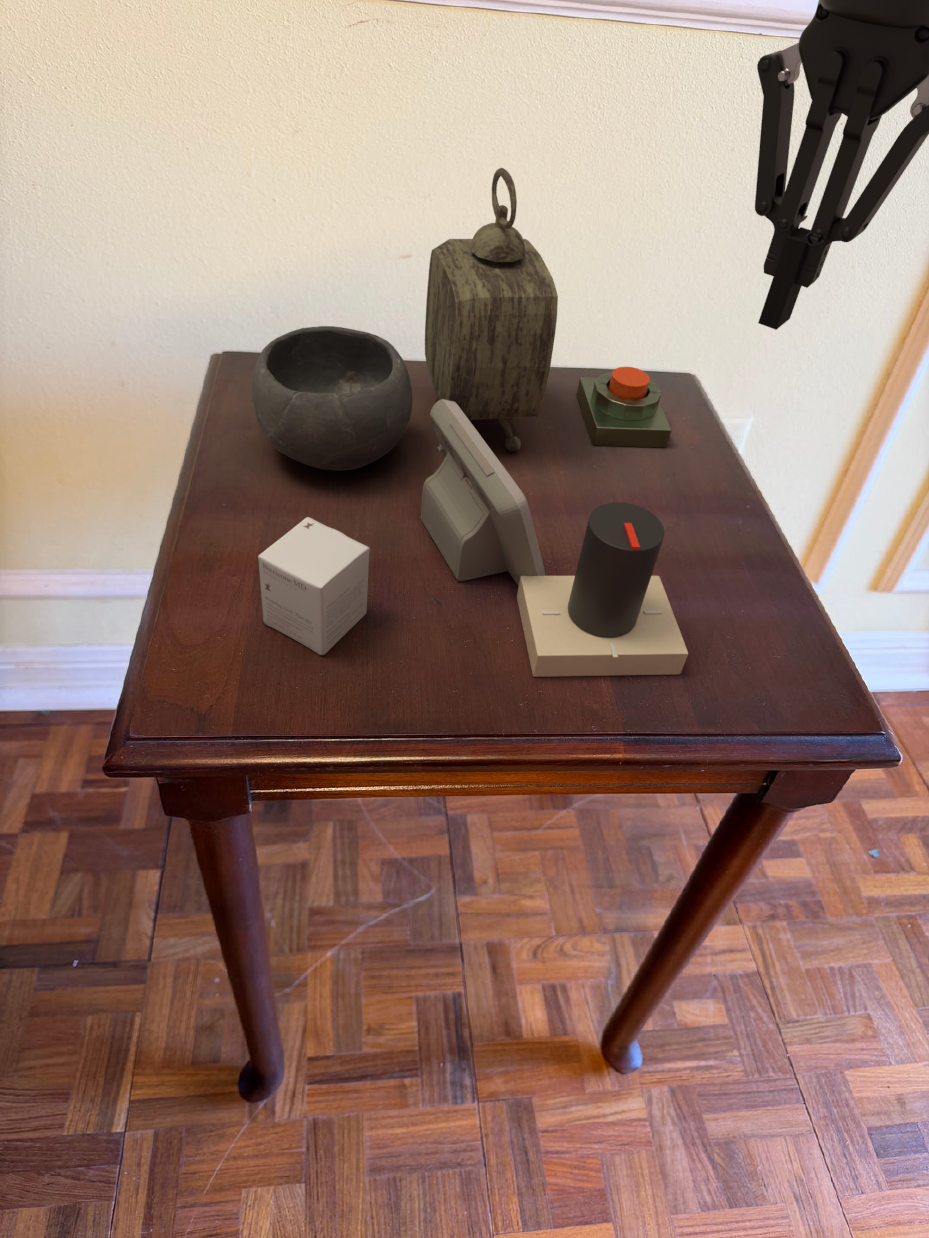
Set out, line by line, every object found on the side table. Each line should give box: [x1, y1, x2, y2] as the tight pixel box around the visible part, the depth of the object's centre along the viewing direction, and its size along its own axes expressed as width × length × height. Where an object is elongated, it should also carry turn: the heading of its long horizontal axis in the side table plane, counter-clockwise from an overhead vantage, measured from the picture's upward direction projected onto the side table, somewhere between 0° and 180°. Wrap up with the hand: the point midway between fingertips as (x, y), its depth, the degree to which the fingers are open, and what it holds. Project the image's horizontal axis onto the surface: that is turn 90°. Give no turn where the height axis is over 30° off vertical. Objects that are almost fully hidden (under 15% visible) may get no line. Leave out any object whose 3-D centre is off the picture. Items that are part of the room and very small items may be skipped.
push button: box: [609, 366, 651, 400], centre depth 94 cm, size 4×4×2 cm
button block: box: [576, 370, 673, 448], centre depth 96 cm, size 10×8×4 cm
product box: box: [257, 516, 371, 656], centre depth 69 cm, size 6×6×7 cm
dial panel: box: [516, 575, 689, 678], centre depth 73 cm, size 12×10×3 cm
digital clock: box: [420, 399, 546, 587], centre depth 77 cm, size 16×9×11 cm, turn 12°
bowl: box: [251, 325, 413, 472], centre depth 85 cm, size 15×15×10 cm
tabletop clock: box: [424, 167, 559, 453], centre depth 85 cm, size 14×9×25 cm, turn 13°
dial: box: [568, 501, 666, 638], centre depth 68 cm, size 6×6×9 cm
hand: (774, 320), depth 68 cm, fingers closed
